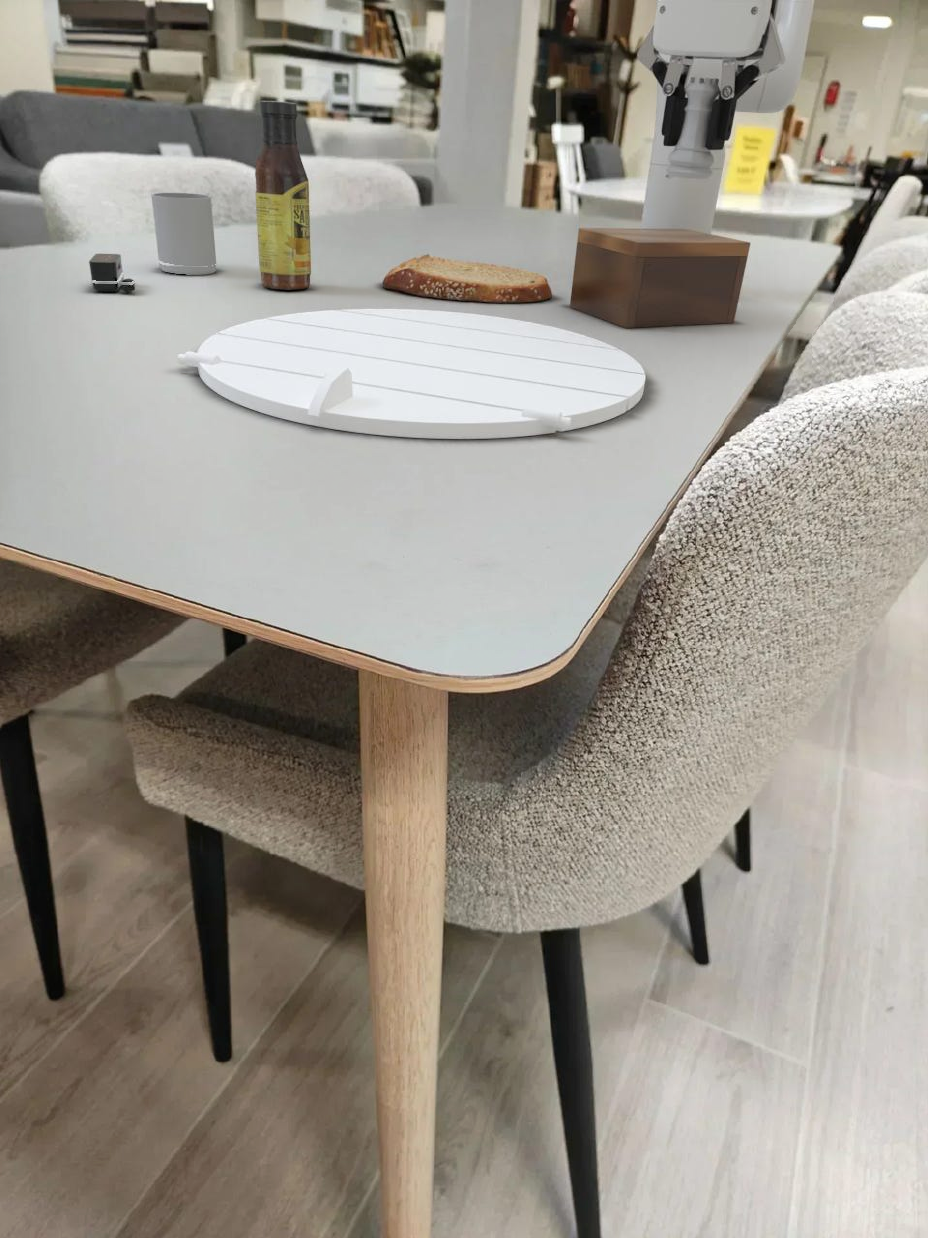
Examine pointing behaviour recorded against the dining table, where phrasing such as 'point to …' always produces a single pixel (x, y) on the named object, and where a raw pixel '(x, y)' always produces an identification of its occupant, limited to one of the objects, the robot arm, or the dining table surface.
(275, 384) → the lazy susan
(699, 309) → the wooden box
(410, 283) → the slice of bread
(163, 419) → the dining table surface
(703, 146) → the rook chess piece
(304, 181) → the sauce bottle
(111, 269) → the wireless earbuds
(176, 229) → the cup
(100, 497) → the dining table surface
